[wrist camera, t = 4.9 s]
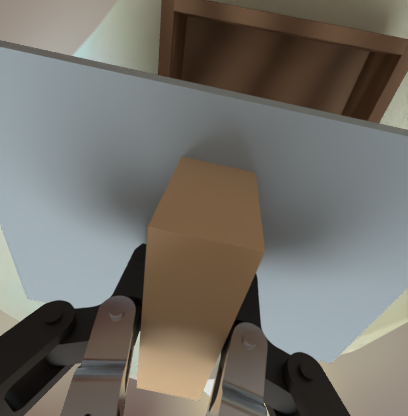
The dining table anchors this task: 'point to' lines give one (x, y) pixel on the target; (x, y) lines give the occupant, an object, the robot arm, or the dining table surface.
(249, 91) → the box
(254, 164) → the lid
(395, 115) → the dining table surface
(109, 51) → the dining table surface
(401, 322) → the dining table surface
